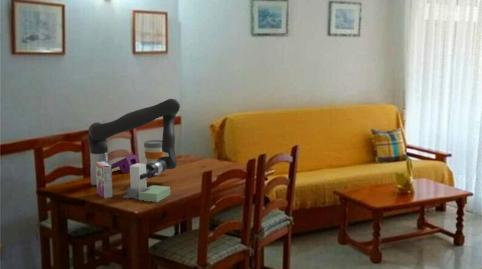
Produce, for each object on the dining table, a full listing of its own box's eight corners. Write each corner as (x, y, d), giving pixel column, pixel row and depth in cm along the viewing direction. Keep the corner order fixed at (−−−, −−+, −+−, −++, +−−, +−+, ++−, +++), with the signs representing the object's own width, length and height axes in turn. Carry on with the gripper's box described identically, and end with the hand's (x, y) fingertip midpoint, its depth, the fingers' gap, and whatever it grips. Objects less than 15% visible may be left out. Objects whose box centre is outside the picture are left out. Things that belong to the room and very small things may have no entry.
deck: (137, 191, 280) (136, 182, 279) (170, 194, 274) (170, 186, 273) (122, 198, 267) (122, 189, 266) (156, 202, 261) (156, 193, 260)
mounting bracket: (110, 180, 326) (131, 170, 317) (105, 167, 326) (126, 157, 318) (120, 176, 334) (141, 167, 326) (115, 164, 335) (136, 154, 326)
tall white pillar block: (138, 189, 276) (137, 163, 273) (146, 190, 274) (145, 163, 272) (130, 193, 269) (129, 166, 267) (139, 194, 268) (138, 166, 265)
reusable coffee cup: (168, 164, 341) (168, 141, 339) (155, 168, 331) (155, 144, 328) (153, 162, 348) (153, 139, 345) (140, 165, 338) (139, 142, 335)
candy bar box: (96, 193, 275) (94, 162, 272) (105, 192, 278) (104, 161, 275) (103, 199, 266) (102, 166, 263) (113, 197, 269) (112, 165, 266)
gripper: (140, 161, 285) (122, 168, 269) (164, 163, 280) (148, 170, 265) (140, 175, 286) (123, 183, 271) (164, 177, 282) (148, 185, 266)
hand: (135, 177), depth 268 cm, fingers closed on tall white pillar block, 5 cm apart
